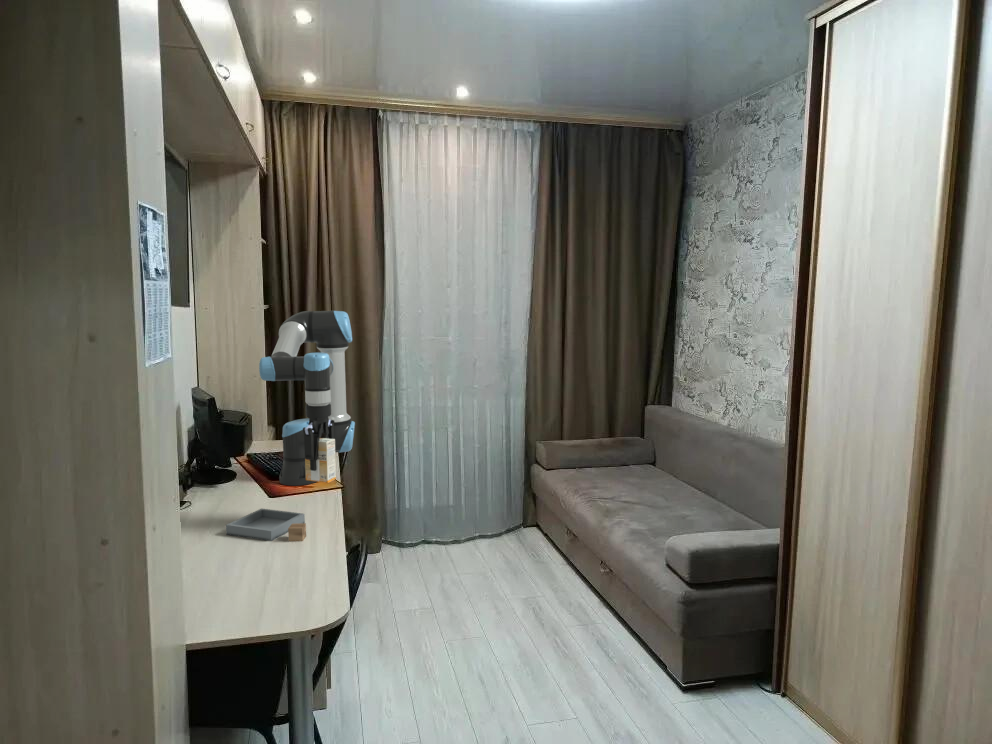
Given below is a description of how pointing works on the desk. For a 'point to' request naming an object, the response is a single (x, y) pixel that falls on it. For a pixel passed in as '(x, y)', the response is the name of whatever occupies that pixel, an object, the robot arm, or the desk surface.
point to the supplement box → (324, 461)
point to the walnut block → (297, 532)
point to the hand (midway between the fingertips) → (320, 477)
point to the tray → (264, 524)
